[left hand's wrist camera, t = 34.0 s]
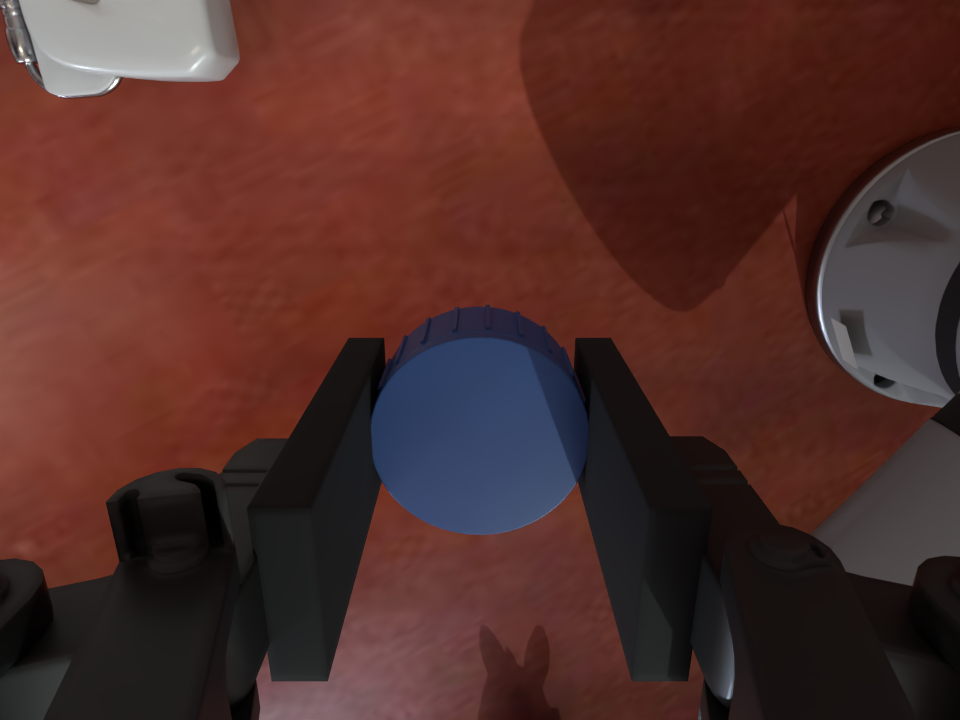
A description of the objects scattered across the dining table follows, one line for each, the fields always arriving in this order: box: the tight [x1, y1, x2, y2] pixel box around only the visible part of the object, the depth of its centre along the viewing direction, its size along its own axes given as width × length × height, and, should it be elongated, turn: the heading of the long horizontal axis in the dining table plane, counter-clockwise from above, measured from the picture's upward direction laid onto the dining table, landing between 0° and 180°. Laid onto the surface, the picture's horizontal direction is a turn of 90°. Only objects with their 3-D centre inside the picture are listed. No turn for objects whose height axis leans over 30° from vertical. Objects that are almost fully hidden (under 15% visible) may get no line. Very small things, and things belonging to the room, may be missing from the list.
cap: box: [371, 305, 589, 535], centre depth 13 cm, size 4×4×2 cm
